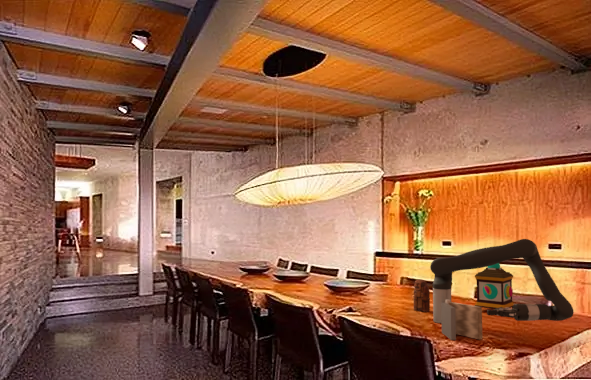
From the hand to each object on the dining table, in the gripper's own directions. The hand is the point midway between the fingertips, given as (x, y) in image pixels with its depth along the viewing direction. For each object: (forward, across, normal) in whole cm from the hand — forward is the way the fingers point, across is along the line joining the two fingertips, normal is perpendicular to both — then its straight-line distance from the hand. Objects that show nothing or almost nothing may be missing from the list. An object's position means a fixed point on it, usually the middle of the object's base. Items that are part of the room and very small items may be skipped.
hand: (487, 312), depth 214 cm
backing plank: (+16, -4, +11) cm, 20 cm away
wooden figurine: (+14, -64, +11) cm, 67 cm away
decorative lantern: (-29, -63, +11) cm, 71 cm away
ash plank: (+10, -2, +11) cm, 15 cm away
